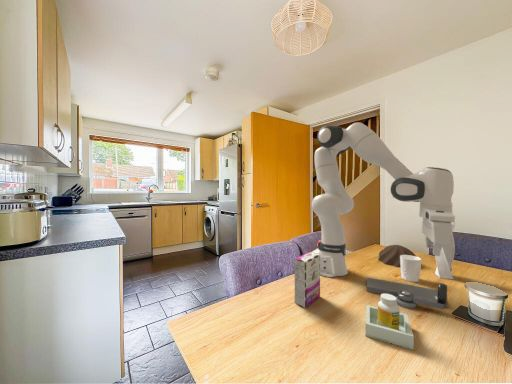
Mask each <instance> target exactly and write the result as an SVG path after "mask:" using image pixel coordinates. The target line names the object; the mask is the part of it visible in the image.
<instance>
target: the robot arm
mask: <svg viewBox="0 0 512 384" xmlns="http://www.w3.org/2000/svg"><path fill="white" fill-rule="evenodd" d="M316 140H317V143H318V144H319V145H320V147H318V148H317V149H316V150H315V152H314V169H315V174H316V179H317V184H318V186H320V187H321V188H322V189H323V191H324V193H321V194H319V195H316V196H314V197H313V199H312V201H311V209H312V212H314V214H315V215H316V216H317V218H318V220H319V222H320V229H321V230H320V231H321V239H319V240H318V242H317V243H316V247H317V248H316V249H314V250H313V251H311V252H312V253H316V254H320V276H324V277H328V278H334V277H342V276H346V275H347V274H349V271H348V268H347V263H346V261H347V260H346V255H347V254H346V253H347V246H346V241H345V240H346V239H345V237H346V236H345V235H346V234H345V233H346V229H345V226H344V225H343V224H342V222H341V219H340V215H345V214H347V213H349V212H351V211H353V209H354V207H355V201H354V199H353V198H352V196H351V195H349V193H348V192H347V190H346V189H345V186H344V185H343V181H342V179H341V175H340V174H341V173H340V170H339V165H338V160H337V157H338V155H342V154H343V153H344V152H347V151H348V150H350V149H352V151H353V152H354V153H355V155H357V157H359V158H360V160H363V161H364V162H365V163H369V164H372V165H375V166H377V167H380V168H381V169H383V170H385V171H386V172H387V173H388V174H389V175H390V176H391V178H393V179H394V180H393V182H392V183H391V185H390V194H391V195H392V197H393V198H394V199H395V200H397V201H400V202H405V203H406V202H407V203H408V202H409V203H410V202H413V203H414V202H415V203H419V215H418V216H419V218H422V223H421V233H422V234H423V235H425V236H424V237H425V247H426V248H427V249H430V250H431V249H432V255H433V256H434V257H435V256H440V252H441V249H442V246H443V245H445V246H447V245H448V244H449V242H450V237H451V231H452V224H453V222H455V219H456V218H455V217H456V216H455V215H454V213H453V203H452V198H453V195H454V189H455V188H454V187H455V185H454V181H455V180H454V176H453V173H452V172H451V171H450V170H449V169H447V168H441V167H431V166H429V167H425V168H423V169H422V170H420V171H418V172H415V173H413V172H412V171H411V170H410V169H408V168H407V167H406V165H404V163H402V162H401V161H400V160H399V159H398V158H397V157H396V156H395V155H394V153H393V152H392V151H391V150H390V148H389V147H388V145H386V144H385V142H384V141H383V140H382V139H381V138H380V136H379V135H378V134H377V133H376V132H375V131H374V130H373V129H371V128H370V127H369V126H367V125H365V124H364V123H362V122H353V123H352V124H350V125H349V126H348V127H347V128H343V127H342V126H338V125H333V124H332V125H330V124H329V125H325V126H323V127H321V128H320V129H319V131H318V132H317V136H316ZM452 232H453V231H452Z"/></svg>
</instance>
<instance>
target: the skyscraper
mask: <svg viewBox="0 0 512 384" xmlns="http://www.w3.org/2000/svg"><path fill="white" fill-rule="evenodd" d="M455 227H456V222H455V221H454V222H452V231H451V237H450V242H449V244H448V245H447V246H445V245H443V246H442V249H441V252H440V256H435V255H434V258H435V262H436V268H435V272H432V273H433V274H434V275H435V276H436V277H437V278H439V279H444V280H452V281H459V279H458V278H457V277H455V276H454V275H453V273H452V270H453V267H452V265H453V262H454V259H455V252H456V244H455V243H456V242H455V238H454V233H453V231H454V228H455Z"/></svg>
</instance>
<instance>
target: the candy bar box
mask: <svg viewBox="0 0 512 384" xmlns="http://www.w3.org/2000/svg"><path fill="white" fill-rule="evenodd" d="M293 264H294V266H293V267H294V268H293V269H294V304H296V305H298V306H301V307H303V308H306V309H307V308H308V307H309V306H310V305H311V304H313V303H314V302H315V301H316V300H317V299H319V297H321V275H320V254H316V253H312V251H311V252H310V251H309V252H307V253H305V254H302V255H300V256H298V257H296V258H294V262H293Z"/></svg>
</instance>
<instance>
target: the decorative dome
mask: <svg viewBox="0 0 512 384" xmlns="http://www.w3.org/2000/svg"><path fill="white" fill-rule="evenodd" d="M400 255H411V256H416V257H417V255H416V254H415V252H413V251H411V250H410V249H409V248H407V247H405V246H402V245H400V244H391V245H387V246H385V247H384V248H382V250H380V251H379V253H378V259H377V260H378V261H379V262H380V263H381V262H382V263H383V264H384V265H386V266H392V267H394V268H401V266H400Z"/></svg>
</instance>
